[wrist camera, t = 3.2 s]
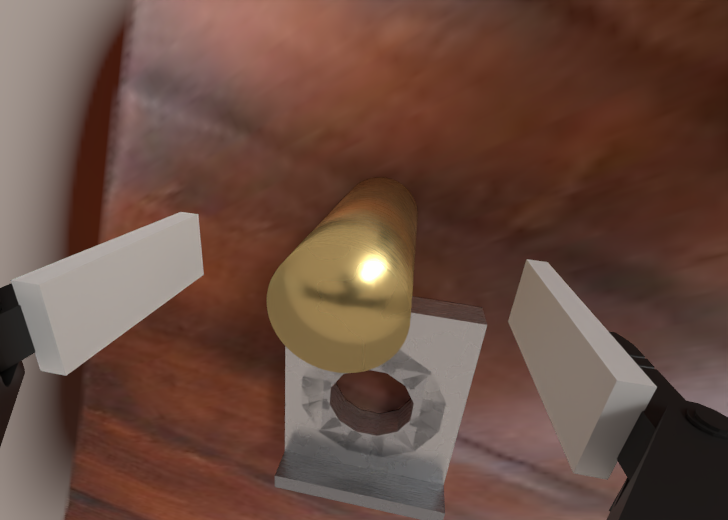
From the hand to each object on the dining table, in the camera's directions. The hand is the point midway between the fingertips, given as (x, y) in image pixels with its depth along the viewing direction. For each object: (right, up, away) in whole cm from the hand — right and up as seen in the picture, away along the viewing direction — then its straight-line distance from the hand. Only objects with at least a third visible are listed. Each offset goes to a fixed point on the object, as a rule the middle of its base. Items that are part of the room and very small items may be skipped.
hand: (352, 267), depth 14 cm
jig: (+1, -9, +11) cm, 14 cm away
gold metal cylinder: (+1, +3, +7) cm, 7 cm away
